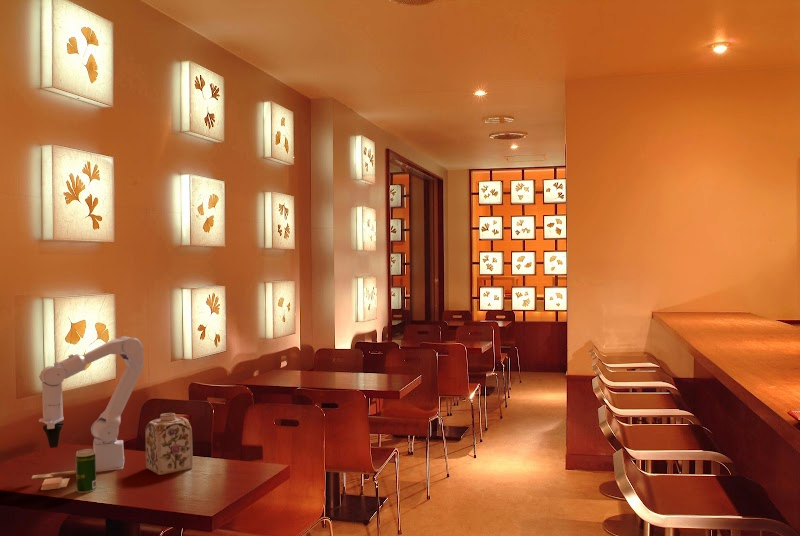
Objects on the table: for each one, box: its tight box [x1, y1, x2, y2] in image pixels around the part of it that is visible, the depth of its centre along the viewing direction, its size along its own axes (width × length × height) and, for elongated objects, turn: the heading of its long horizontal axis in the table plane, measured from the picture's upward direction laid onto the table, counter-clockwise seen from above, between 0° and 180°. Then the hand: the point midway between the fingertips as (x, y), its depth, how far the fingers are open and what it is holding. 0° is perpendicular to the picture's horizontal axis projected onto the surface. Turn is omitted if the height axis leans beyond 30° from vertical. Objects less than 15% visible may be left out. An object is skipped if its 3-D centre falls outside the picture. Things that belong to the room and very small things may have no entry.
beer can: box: [75, 448, 97, 494], centre depth 214 cm, size 5×5×12 cm
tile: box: [41, 476, 63, 491], centre depth 218 cm, size 2×5×6 cm
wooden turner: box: [30, 470, 76, 480], centre depth 231 cm, size 12×4×1 cm, turn 109°
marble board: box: [40, 477, 71, 491], centre depth 221 cm, size 7×10×1 cm
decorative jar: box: [144, 412, 194, 476], centre depth 236 cm, size 12×12×18 cm
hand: (54, 447), depth 228 cm, fingers closed
